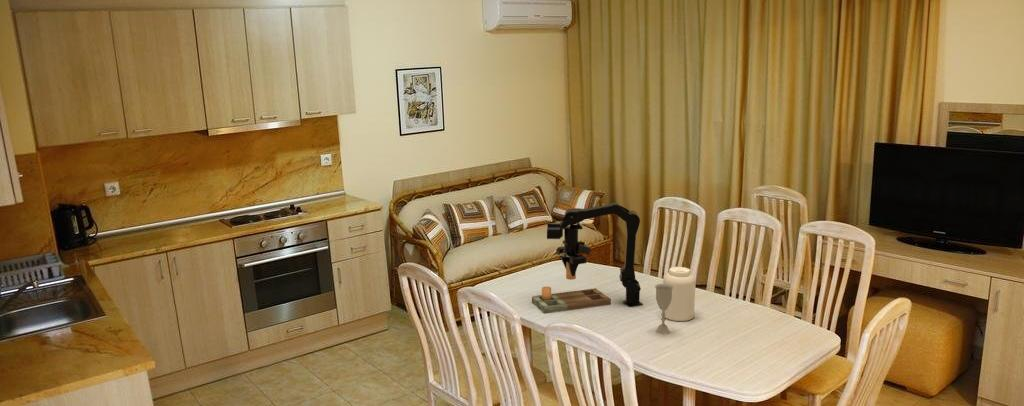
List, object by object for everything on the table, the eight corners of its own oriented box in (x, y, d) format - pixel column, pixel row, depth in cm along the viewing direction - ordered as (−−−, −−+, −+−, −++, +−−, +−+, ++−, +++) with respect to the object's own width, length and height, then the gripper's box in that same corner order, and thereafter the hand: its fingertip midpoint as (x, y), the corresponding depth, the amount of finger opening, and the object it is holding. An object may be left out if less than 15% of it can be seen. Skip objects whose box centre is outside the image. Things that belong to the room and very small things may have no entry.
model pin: (552, 304, 319) (552, 288, 317) (543, 305, 317) (543, 290, 316) (549, 301, 322) (549, 286, 321) (540, 302, 321) (540, 287, 320)
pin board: (610, 304, 318) (610, 298, 317) (544, 313, 308) (544, 307, 308) (595, 293, 332) (595, 288, 331) (532, 302, 322) (532, 296, 322)
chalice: (659, 326, 292) (660, 282, 288) (675, 330, 288) (676, 285, 284) (650, 332, 287) (651, 287, 283) (666, 336, 282) (667, 290, 279)
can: (694, 322, 296) (696, 274, 292) (662, 320, 298) (663, 272, 294) (693, 311, 308) (695, 265, 304) (662, 310, 310) (663, 263, 306)
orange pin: (577, 279, 316) (577, 263, 315) (568, 280, 315) (568, 264, 314) (573, 276, 320) (573, 260, 319) (564, 277, 319) (564, 261, 317)
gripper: (598, 242, 308) (597, 278, 311) (579, 232, 325) (579, 266, 328) (573, 245, 304) (573, 281, 308) (555, 234, 322) (555, 269, 325)
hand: (571, 274), depth 317 cm, fingers closed on orange pin, 4 cm apart
